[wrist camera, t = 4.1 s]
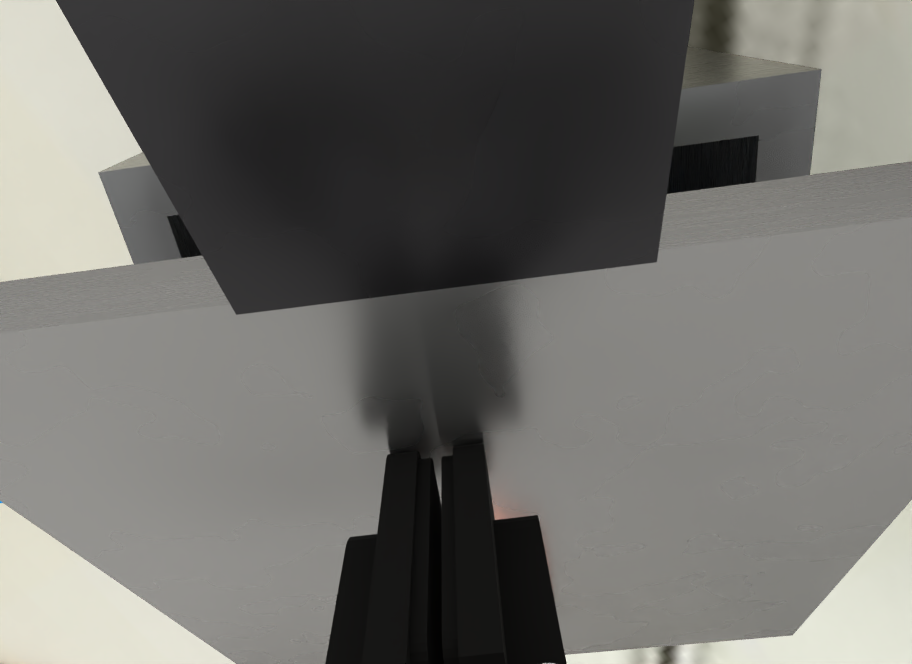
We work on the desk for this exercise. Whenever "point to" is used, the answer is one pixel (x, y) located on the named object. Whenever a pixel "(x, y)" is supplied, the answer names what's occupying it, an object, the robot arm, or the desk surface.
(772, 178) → the grey open box
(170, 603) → the cooker lid
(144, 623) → the desk surface
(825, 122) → the desk surface
